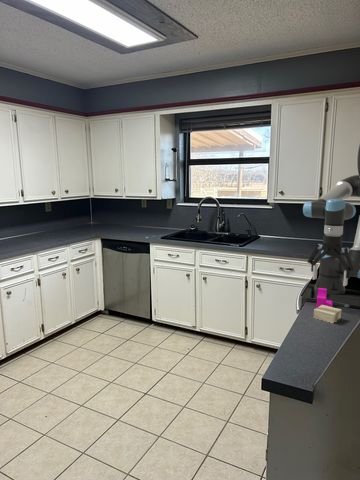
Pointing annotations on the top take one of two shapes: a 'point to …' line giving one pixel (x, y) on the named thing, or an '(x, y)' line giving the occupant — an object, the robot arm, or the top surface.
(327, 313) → the riser
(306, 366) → the top surface
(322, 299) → the toy block
